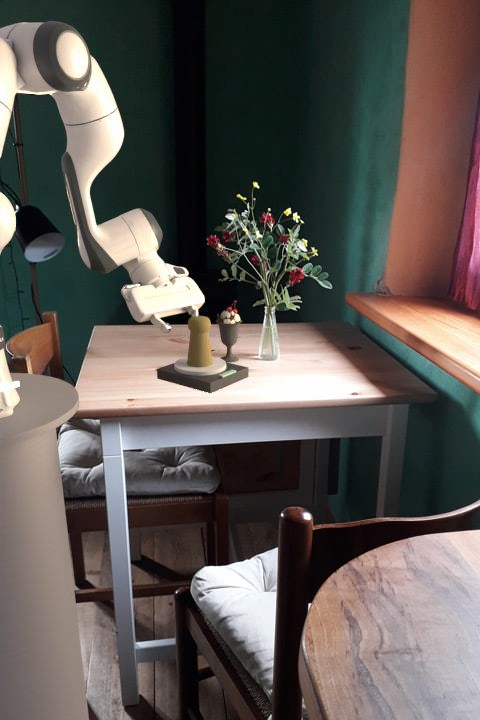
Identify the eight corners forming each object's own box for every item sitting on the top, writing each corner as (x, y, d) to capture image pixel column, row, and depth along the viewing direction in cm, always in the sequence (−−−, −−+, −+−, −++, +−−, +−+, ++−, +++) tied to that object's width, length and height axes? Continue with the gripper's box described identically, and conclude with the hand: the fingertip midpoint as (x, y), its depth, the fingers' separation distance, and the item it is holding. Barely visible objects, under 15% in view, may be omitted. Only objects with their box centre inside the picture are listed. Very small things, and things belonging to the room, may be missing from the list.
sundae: (246, 357, 159) (246, 299, 154) (236, 364, 153) (236, 305, 148) (222, 354, 161) (222, 297, 156) (212, 361, 155) (211, 302, 150)
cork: (211, 367, 140) (211, 320, 136) (185, 367, 140) (183, 319, 136) (214, 359, 146) (213, 314, 142) (188, 359, 146) (187, 313, 142)
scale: (210, 393, 134) (210, 378, 133) (157, 378, 143) (156, 364, 141) (248, 377, 145) (248, 363, 144) (196, 364, 153) (196, 350, 152)
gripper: (123, 277, 136) (154, 328, 134) (190, 267, 151) (220, 313, 149) (112, 294, 140) (142, 344, 138) (179, 283, 155) (207, 327, 153)
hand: (183, 328), depth 144 cm, fingers open, 8 cm apart
